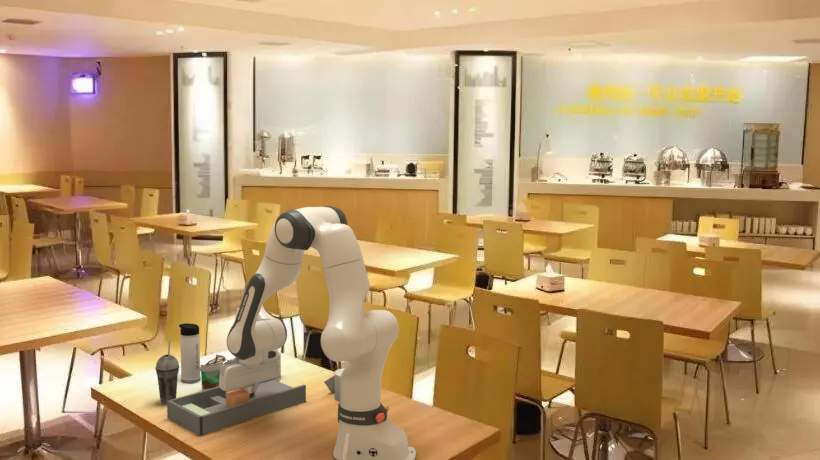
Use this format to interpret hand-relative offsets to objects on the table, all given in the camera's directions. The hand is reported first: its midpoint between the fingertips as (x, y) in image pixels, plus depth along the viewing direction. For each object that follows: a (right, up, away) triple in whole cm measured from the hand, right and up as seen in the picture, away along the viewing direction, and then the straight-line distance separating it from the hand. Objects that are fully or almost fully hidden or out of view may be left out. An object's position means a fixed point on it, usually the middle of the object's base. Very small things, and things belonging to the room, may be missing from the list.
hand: (250, 397), depth 237 cm
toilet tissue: (+28, -3, +14) cm, 32 cm away
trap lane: (-4, -4, +1) cm, 6 cm away
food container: (-15, -1, +19) cm, 24 cm away
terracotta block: (-3, -2, -3) cm, 5 cm away
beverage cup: (-27, -3, +6) cm, 28 cm away
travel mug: (-26, 0, +26) cm, 37 cm away
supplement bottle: (+1, 0, +29) cm, 29 cm away
